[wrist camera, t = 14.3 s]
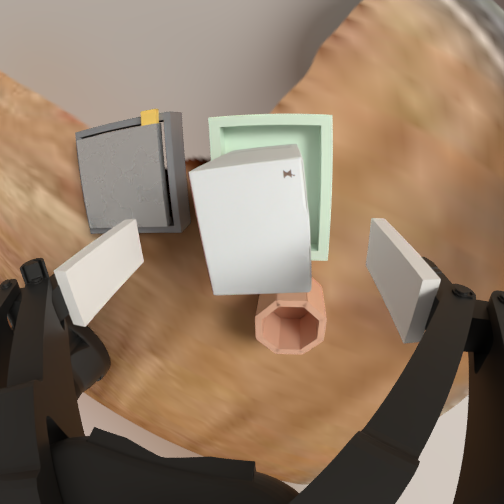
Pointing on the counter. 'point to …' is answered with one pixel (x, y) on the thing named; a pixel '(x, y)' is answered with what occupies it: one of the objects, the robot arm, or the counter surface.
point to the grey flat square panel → (125, 177)
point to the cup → (291, 320)
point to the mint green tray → (282, 133)
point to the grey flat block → (173, 164)
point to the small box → (254, 221)
